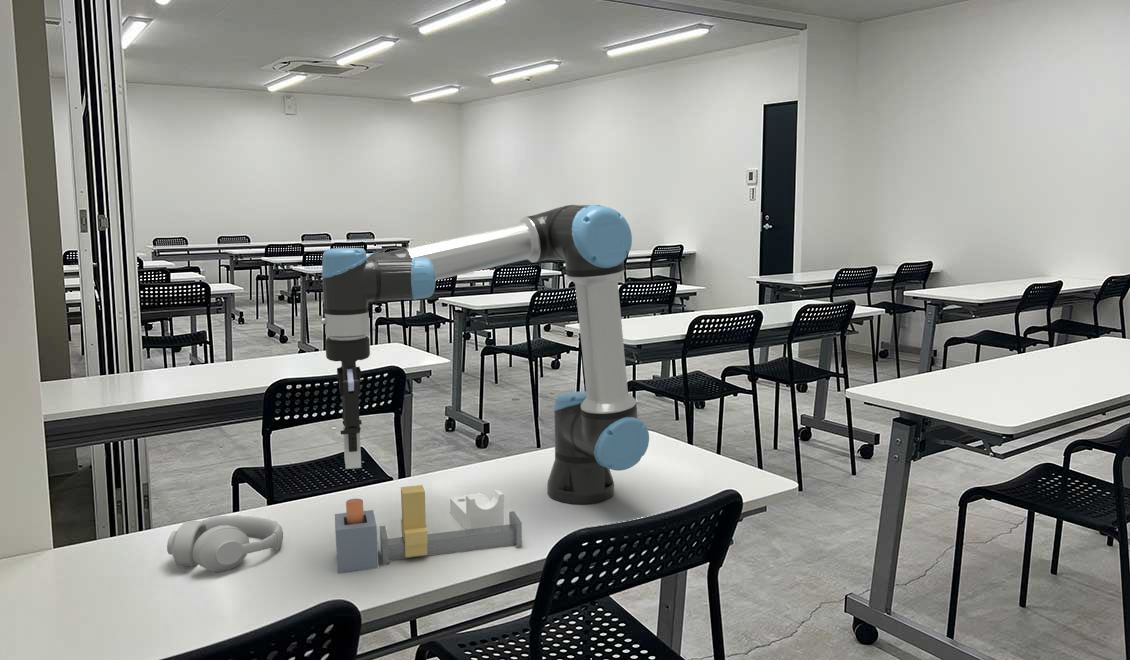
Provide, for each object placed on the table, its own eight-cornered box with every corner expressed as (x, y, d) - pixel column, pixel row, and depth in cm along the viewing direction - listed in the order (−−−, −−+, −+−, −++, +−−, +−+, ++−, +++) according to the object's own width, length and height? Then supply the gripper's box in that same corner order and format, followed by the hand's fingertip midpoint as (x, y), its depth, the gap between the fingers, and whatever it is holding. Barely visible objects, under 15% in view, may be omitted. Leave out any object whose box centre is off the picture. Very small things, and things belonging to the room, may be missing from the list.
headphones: (227, 582, 144) (300, 552, 163) (229, 538, 144) (302, 512, 163) (144, 567, 150) (224, 539, 169) (146, 524, 150) (225, 501, 169)
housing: (374, 550, 159) (373, 509, 157) (378, 567, 151) (376, 525, 150) (336, 554, 157) (334, 514, 155) (338, 572, 149) (336, 530, 148)
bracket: (504, 529, 169) (503, 494, 168) (470, 536, 166) (470, 499, 165) (481, 508, 180) (481, 474, 179) (450, 513, 177) (449, 479, 176)
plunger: (363, 523, 155) (362, 497, 154) (364, 529, 152) (363, 503, 151) (346, 525, 154) (345, 499, 153) (347, 531, 151) (346, 505, 150)
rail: (514, 535, 165) (514, 511, 165) (521, 547, 160) (521, 522, 159) (380, 551, 158) (379, 526, 157) (383, 564, 152) (382, 538, 151)
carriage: (422, 541, 161) (421, 482, 159) (427, 556, 154) (426, 494, 152) (401, 543, 159) (399, 484, 158) (405, 559, 153) (403, 496, 151)
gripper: (324, 330, 154) (330, 453, 157) (326, 345, 138) (332, 481, 142) (366, 328, 156) (370, 449, 159) (372, 342, 141) (377, 476, 144)
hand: (352, 464), depth 151 cm, fingers open, 3 cm apart
